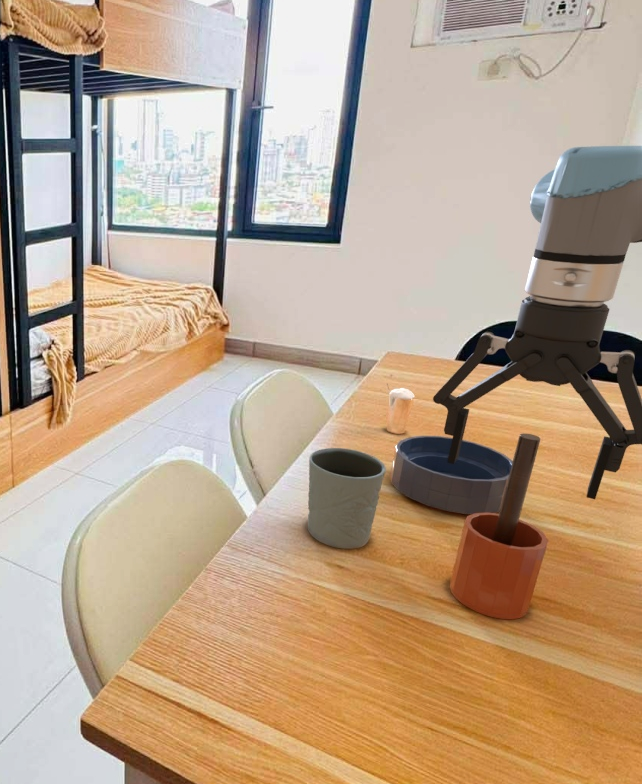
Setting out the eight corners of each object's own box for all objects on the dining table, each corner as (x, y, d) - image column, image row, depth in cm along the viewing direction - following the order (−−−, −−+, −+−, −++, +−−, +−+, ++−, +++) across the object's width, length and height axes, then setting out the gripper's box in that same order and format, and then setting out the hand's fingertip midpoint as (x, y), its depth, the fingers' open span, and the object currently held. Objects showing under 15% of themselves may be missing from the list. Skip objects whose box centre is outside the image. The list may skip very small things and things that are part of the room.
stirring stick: (499, 592, 80) (541, 436, 73) (496, 600, 79) (539, 441, 72) (481, 586, 82) (520, 431, 74) (478, 594, 80) (518, 437, 73)
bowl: (514, 487, 107) (523, 453, 105) (498, 529, 95) (508, 492, 93) (404, 459, 118) (410, 428, 116) (377, 494, 106) (383, 459, 104)
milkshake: (381, 424, 134) (388, 380, 130) (409, 429, 131) (417, 384, 128) (377, 431, 130) (384, 386, 127) (405, 437, 127) (414, 390, 124)
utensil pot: (531, 594, 81) (551, 527, 77) (523, 629, 75) (543, 558, 72) (457, 569, 86) (472, 505, 83) (443, 599, 80) (459, 532, 77)
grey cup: (376, 557, 89) (389, 482, 85) (300, 544, 92) (310, 471, 88) (369, 521, 98) (381, 451, 94) (300, 510, 101) (309, 443, 97)
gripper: (427, 291, 72) (395, 456, 80) (734, 322, 57) (660, 525, 64) (442, 282, 78) (410, 438, 85) (726, 309, 62) (658, 497, 69)
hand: (518, 476), depth 75 cm, fingers open, 13 cm apart
